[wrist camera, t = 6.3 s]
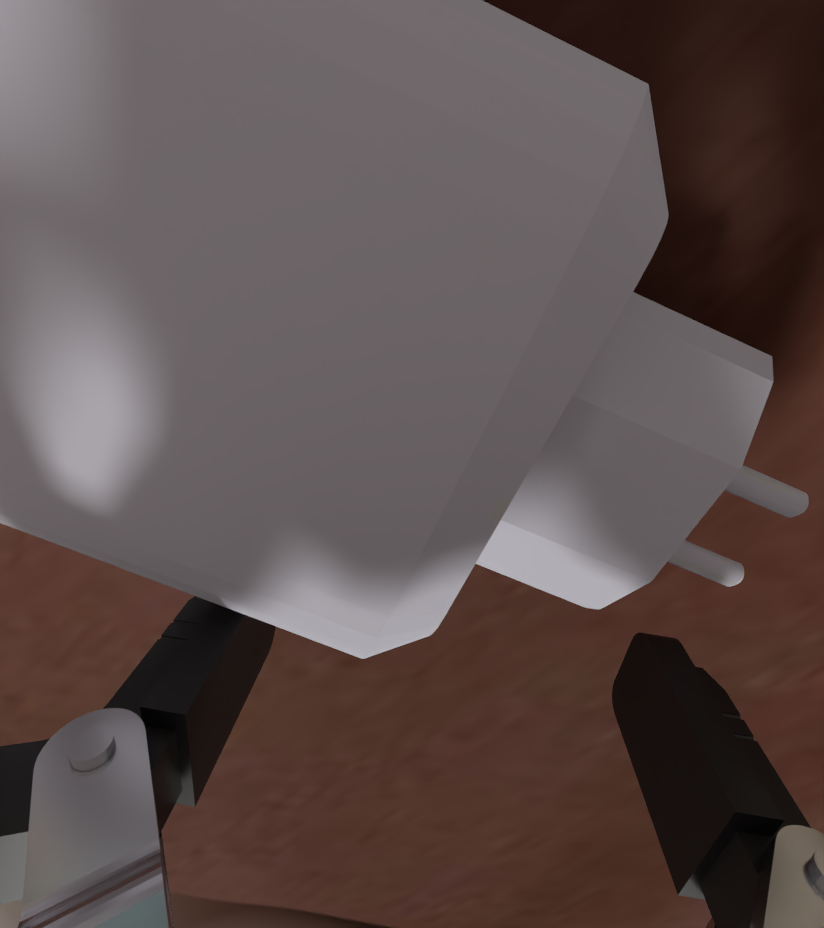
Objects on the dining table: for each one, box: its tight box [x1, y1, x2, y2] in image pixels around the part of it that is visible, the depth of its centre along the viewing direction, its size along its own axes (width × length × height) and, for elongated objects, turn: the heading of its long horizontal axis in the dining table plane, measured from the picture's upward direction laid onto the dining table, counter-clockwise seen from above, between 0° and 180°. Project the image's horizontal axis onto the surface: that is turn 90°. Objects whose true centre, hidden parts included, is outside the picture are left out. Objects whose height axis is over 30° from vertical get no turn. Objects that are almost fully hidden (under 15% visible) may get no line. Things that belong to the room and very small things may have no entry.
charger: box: [0, 0, 808, 659], centre depth 8 cm, size 5×9×15 cm
